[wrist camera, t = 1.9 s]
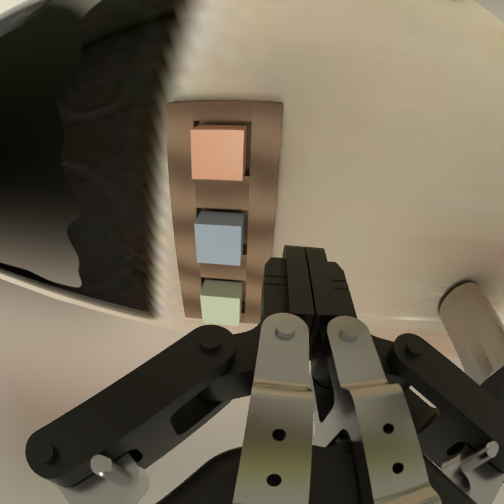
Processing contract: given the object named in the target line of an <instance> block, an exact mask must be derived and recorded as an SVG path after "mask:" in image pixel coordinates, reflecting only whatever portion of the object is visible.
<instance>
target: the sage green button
mask: <svg viewBox="0 0 504 504" xmlns="http://www.w3.org/2000/svg"><path fill="white" fill-rule="evenodd" d="M200 301H201V310H202V319H203V323H212V324H222V325H233V326H239V325H240V318H241V310H242V283H241V282H228V281H216V280H205V281H204V284H203V287H202V290H201V294H200Z"/></svg>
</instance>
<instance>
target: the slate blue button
mask: <svg viewBox="0 0 504 504" xmlns="http://www.w3.org/2000/svg"><path fill="white" fill-rule="evenodd" d="M194 228H195V242H196V255H197V263H210V264H223V265H237V266H240V265H241V259H242V254H243V233H244V213H230V212H211V211H201V212H200V214H199V216H198V217H197V219H196V221H195V223H194Z"/></svg>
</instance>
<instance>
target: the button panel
mask: <svg viewBox="0 0 504 504" xmlns="http://www.w3.org/2000/svg"><path fill="white" fill-rule="evenodd" d="M282 113H283V103H282V102H267V101H244V100H197V101H175V102H170V103H166V132H167V153H168V170H169V184H170V196H171V208H172V218H173V228H174V237H175V246H176V255H177V263H178V270H179V278H180V285H181V292H182V299H183V305H184V311H185V317H190V318H199V319H202V310H201V301H200V294H201V290H202V287H203V284H204V281H205V280H216V281H228V282H241V283H242V310H241V318H240V322H241V323H254V324H259V323H260V315H261V294H262V285H263V276H264V267H265V264H266V263H267V261H268V260H269V259H270V257H271V256H272V245H273V234H274V222H275V210H276V197H277V184H278V171H279V157H280V143H281V129H282ZM198 125H247V138H246V168H245V174H244V177H243V181H235V180H211V179H192V167H191V129H193V128H194V127H196V126H198ZM201 211H211V212H230V213H244V233H243V254H242V259H241V265H240V266H237V265H223V264H210V263H197V255H196V242H195V228H194V223H195V221H196V219H197V217H198V216H199V214H200V212H201Z"/></svg>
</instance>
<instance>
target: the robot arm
mask: <svg viewBox="0 0 504 504" xmlns="http://www.w3.org/2000/svg"><path fill="white" fill-rule="evenodd" d="M439 315H440V318H441V320H442V322H443V324H444V326H445V328H446V330H447V332H448V334H449V336H450V339H451V341H452V343H453V345H454V347H455V350H456V352H457V354H458V357H459V359H460V361H461V364H462V366H463V368H464V371H465V373H464V372H463V371H462V370H461V369H459V368H458V367H457V366H456V365H455V364H453V363H452V362H451V361H450V360H449V359H447V358H446V357H445V356H444V355H442V354H441V353H440V352H439V351H437V350H436V349H435V348H434V347H432V346H431V345H430V344H429V343H427V342H426V341H425V340H424V339H422V338H421V337H419V336H417V335H415V334H410V333H405V334H402V335H400V336H398V337H397V338H396V340H395V341H394V342H392V341H389V340H385V339H381V338H378V337H375V336H373V335H371V334H370V332H369V329H368V328H367V326H366V325H365V324H364V323H363V322H362V321H360V320H359V319H357V316H356V312H355V309H354V305H353V302H352V298H351V295H350V291H349V288H348V284H347V282H346V278H345V274H344V271H343V270H342V269H341V268H340V266H339V265H338V264H337V263H336V262H327V258H326V254H325V250H324V249H323V248H313V247H301V246H289V245H285V246H284V251H283V258H274V257H270V259H269V260H268V261H267V263H266V264H265V267H264V276H263V285H262V294H261V315H260V323H259V324H258V325H257V326H256V327H255V328H254V329H252V330H250V331H247V332H243V333H238V334H232V333H231V332H230V331H229V330H227V329H226V328H223V327H221V326H218V325H204V326H200V327H198V328H196V329H194V330H193V331H191V332H190V333H188V334H187V335H185V336H184V337H183V338H181V339H180V340H179V341H177V342H175V343H174V344H172V345H171V346H169V347H168V348H166V349H165V350H163V351H162V352H160V353H159V354H157V355H156V356H154V357H153V358H151V359H150V360H148V361H147V362H145V363H144V364H142V365H141V366H139V367H138V368H136V369H135V370H133V371H132V372H130V373H129V374H127V375H126V376H124V377H122V378H121V379H119V380H118V381H116V382H115V383H113V384H112V385H110V386H109V387H107V388H105V389H104V390H102V391H101V392H99V393H98V394H96V395H95V396H93V397H91V398H90V399H88V400H86V401H85V402H83V403H82V404H80V405H78V406H77V407H75V408H74V409H72V410H70V411H69V412H67V413H66V414H64V415H62V416H61V417H59V418H57V419H56V420H54V421H52V422H51V423H49V424H47V425H46V426H44V427H43V428H41V429H39V430H38V431H36V432H34V433H33V434H32V435H31V436H30V438H29V439H28V441H27V444H26V450H25V452H26V458H27V462H28V464H29V466H30V467H31V469H32V470H33V471H34V472H35V473H36V474H38V475H39V476H41V477H43V478H45V479H47V480H49V481H51V482H53V483H54V484H56V485H57V486H58V487H59V489H60V490H61V492H62V493H63V494H64V496H65V498H66V499H67V500H68V502H69V504H137V503H138V501H139V500H140V499H141V498H142V497H143V496H144V495H145V494H146V493H147V491H148V489H149V477H148V474H147V472H146V470H145V469H146V468H147V467H149V466H150V465H151V464H153V463H154V462H156V461H157V460H158V459H160V458H161V457H162V456H164V455H165V454H166V453H168V452H169V451H170V450H172V449H173V448H174V447H176V446H177V445H178V444H180V443H181V442H182V441H183V440H185V439H186V438H187V437H188V436H190V435H191V434H192V433H194V432H195V431H196V430H197V429H199V428H200V427H201V426H202V425H204V424H205V423H206V422H207V421H208V420H209V419H211V418H212V417H213V416H214V415H216V414H217V413H218V412H219V411H220V410H221V409H223V408H224V407H225V406H226V405H227V404H228V403H230V401H231V400H232V399H235V398H240V397H244V396H249V395H251V397H250V404H249V410H248V416H247V422H246V429H245V435H244V440H243V446H242V447H238V448H234V449H231V450H228V451H225V452H223V453H221V454H219V455H217V456H215V457H213V458H212V459H210V460H209V461H207V462H206V463H205V464H204V465H202V466H201V467H200V468H199V469H198V470H197V471H196V472H194V473H193V474H192V475H191V476H190V477H188V478H187V479H186V480H185V481H184V482H183V483H181V484H180V485H179V486H178V487H176V488H175V489H174V490H173V491H171V492H170V493H169V494H168V495H166V496H165V497H164V498H163V499H161V500H160V501H159V502H157V503H156V504H492V502H493V500H494V499H495V497H496V495H497V493H498V491H499V489H500V487H501V485H502V483H504V325H503V323H502V321H501V320H500V318H499V316H498V315H497V313H496V311H495V310H494V308H493V307H492V305H491V304H490V302H489V300H488V299H487V297H486V296H485V294H484V293H483V291H482V290H481V289H480V287H479V286H478V285H477V284H476V283H472V282H470V283H465V284H462V285H460V286H458V287H457V288H455V289H454V290H452V291H451V292H450V293H449V294H448V295H447V296H446V298H445V299H444V300H443V302H442V304H441V306H440V310H439ZM309 360H311V371H310V374H309ZM410 386H413V387H414V388H415V389H416V390H417V391H418V392H420V393H421V394H422V395H423V396H424V397H425V398H426V399H428V400H429V401H430V402H431V403H432V404H433V405H435V406H436V407H437V408H433V407H431V406H429V405H428V404H427V403H426V402H424V401H423V400H422V399H421V398H420V397H419V396H417V395H416V394H415V393H414V392H413V391H412V390H411V389H409V387H410ZM309 388H310V389H309ZM313 414H314V421H315V433H314V438H313V445H312V437H313ZM426 456H427V457H428V458H429V459H430V460H431V461H432V462H434V463H435V464H436V465H437V466H438V467H440V468H441V470H440V469H439V468H438V467H437V466H435V465H434V464H433V463H432V462H431V461H430V460H429V459H428V458H427V457H426Z"/></svg>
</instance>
